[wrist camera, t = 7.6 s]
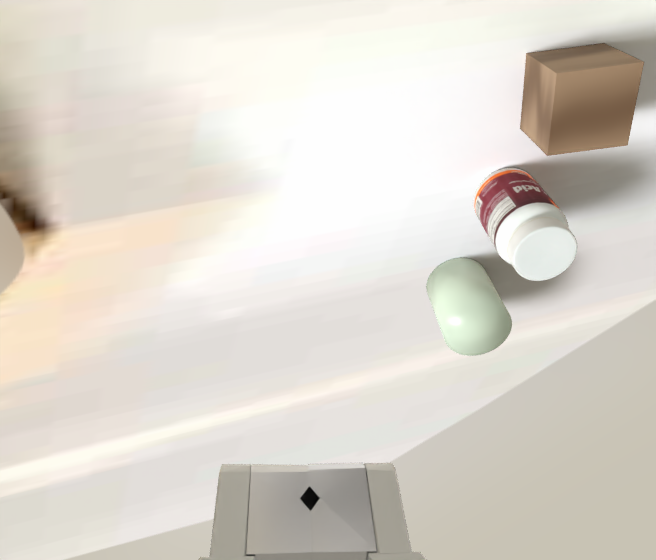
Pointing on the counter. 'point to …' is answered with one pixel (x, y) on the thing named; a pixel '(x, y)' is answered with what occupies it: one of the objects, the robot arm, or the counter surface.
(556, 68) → the walnut cube
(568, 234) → the pill bottle
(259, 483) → the robot arm
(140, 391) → the counter surface
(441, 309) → the sage cylinder
